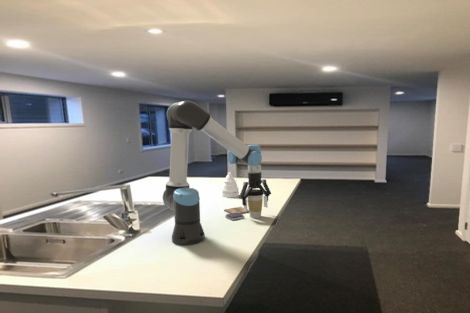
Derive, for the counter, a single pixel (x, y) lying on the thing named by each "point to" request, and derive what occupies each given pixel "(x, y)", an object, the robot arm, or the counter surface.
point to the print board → (236, 210)
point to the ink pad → (234, 216)
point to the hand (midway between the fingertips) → (255, 208)
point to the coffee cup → (255, 203)
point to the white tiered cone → (230, 187)
